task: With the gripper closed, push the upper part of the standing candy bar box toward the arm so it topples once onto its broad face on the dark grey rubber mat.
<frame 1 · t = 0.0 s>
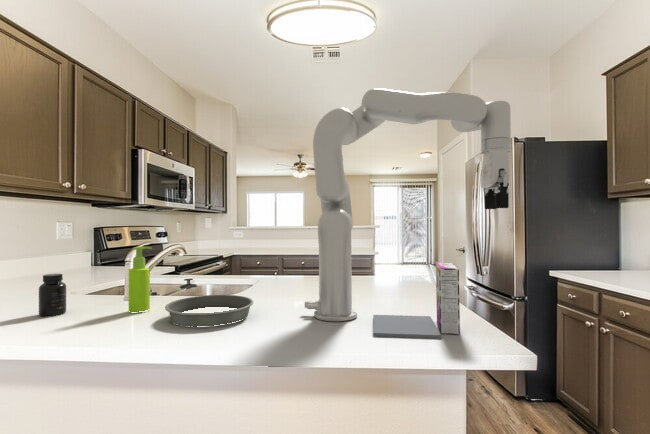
hand: (496, 208, 107), 31 cm above the countertop, fingers open, 9 cm apart
supplement bottle: (52, 315, 116), on the countertop
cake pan: (210, 318, 112), on the countertop
candy bar box: (447, 329, 100), on the countertop
soap dispenser: (140, 311, 120), on the countertop
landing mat: (404, 327, 101), on the countertop
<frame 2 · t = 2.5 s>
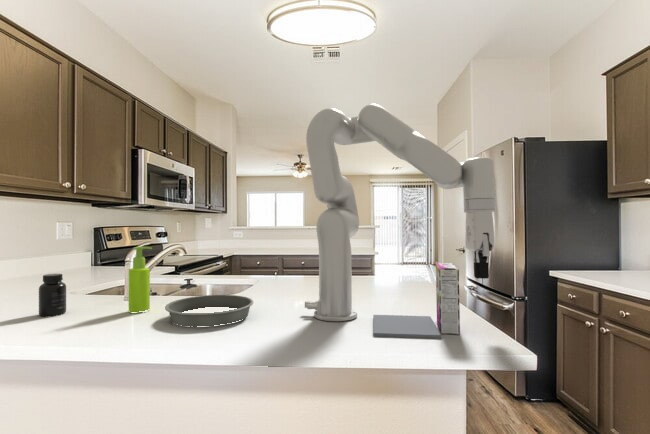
hand: (481, 277, 99), 13 cm above the countertop, fingers closed
nothing on the countertop moved.
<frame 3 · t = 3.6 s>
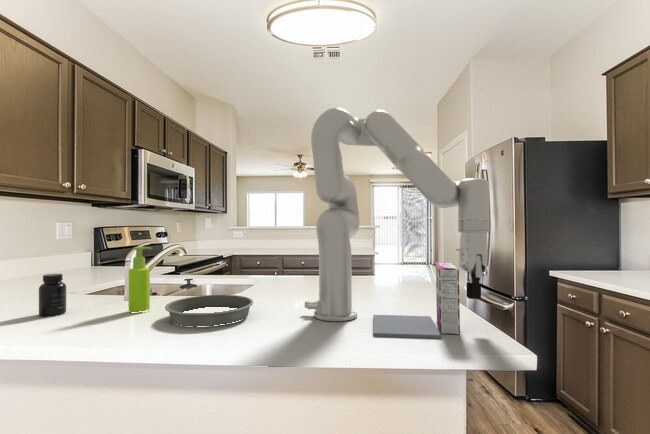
hand: (473, 298, 99), 8 cm above the countertop, fingers closed
nothing on the countertop moved.
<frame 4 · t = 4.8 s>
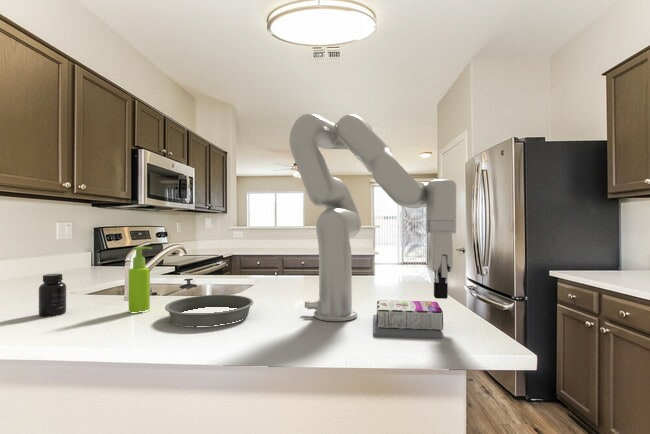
hand: (440, 297, 100), 8 cm above the countertop, fingers closed
candy bar box: (441, 315, 100), point 3 cm above the countertop, touching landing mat
everything else where it was.
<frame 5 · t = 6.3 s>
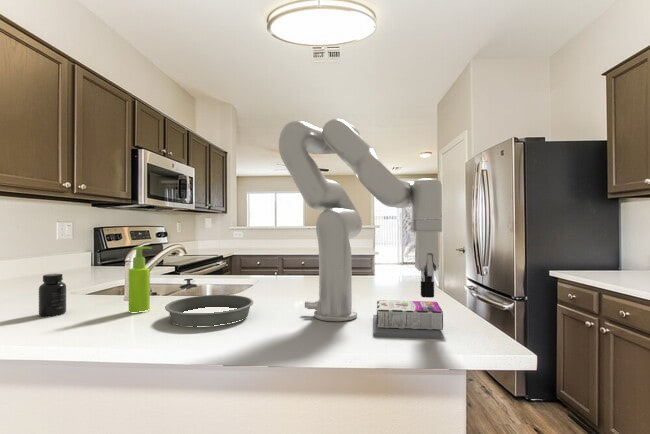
hand: (427, 296, 100), 8 cm above the countertop, fingers closed
nothing on the countertop moved.
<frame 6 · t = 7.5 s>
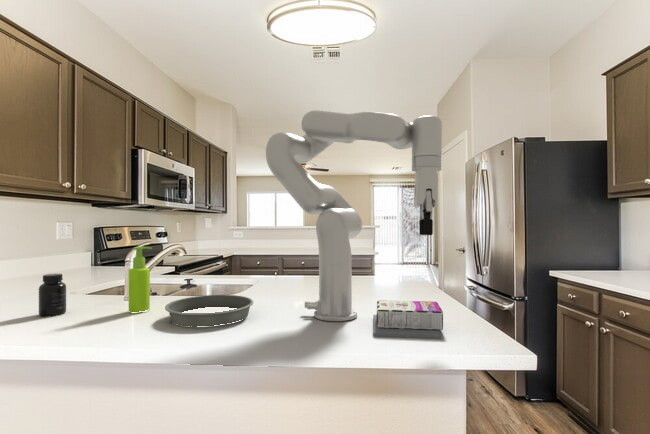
hand: (425, 234, 101), 24 cm above the countertop, fingers closed
nothing on the countertop moved.
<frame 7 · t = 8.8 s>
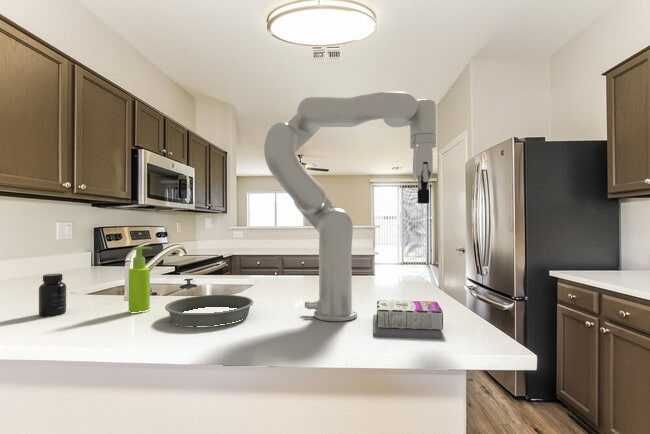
hand: (423, 203, 115), 33 cm above the countertop, fingers closed
nothing on the countertop moved.
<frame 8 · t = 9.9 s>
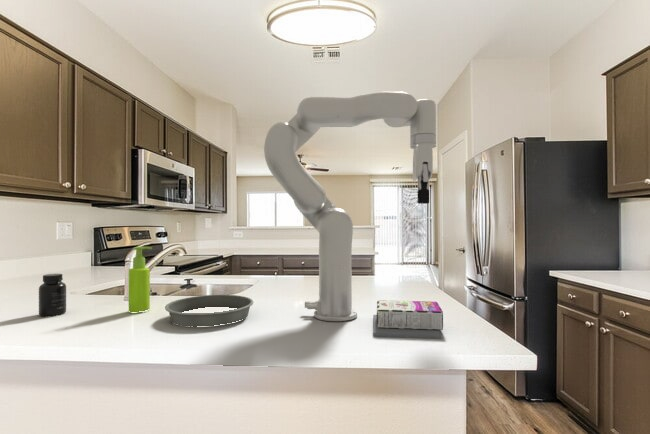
hand: (423, 203, 115), 33 cm above the countertop, fingers closed
nothing on the countertop moved.
at the end: candy bar box tilted 89°; candy bar box touching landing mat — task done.
